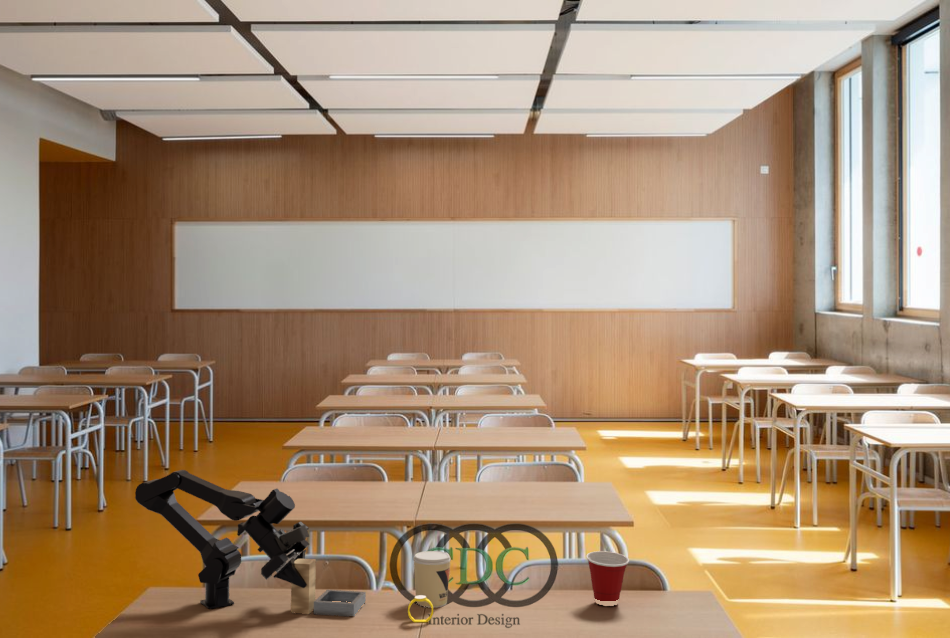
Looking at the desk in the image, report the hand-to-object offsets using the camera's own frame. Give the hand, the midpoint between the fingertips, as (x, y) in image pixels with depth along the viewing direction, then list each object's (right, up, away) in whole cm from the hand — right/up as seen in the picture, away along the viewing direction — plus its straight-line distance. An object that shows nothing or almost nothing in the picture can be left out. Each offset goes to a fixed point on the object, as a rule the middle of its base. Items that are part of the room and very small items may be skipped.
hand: (308, 583), depth 213 cm
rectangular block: (-1, -7, 0) cm, 7 cm away
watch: (+28, -7, -7) cm, 29 cm away
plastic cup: (+74, -8, +8) cm, 75 cm away
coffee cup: (+30, -7, +7) cm, 31 cm away
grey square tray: (+7, -7, +2) cm, 10 cm away
